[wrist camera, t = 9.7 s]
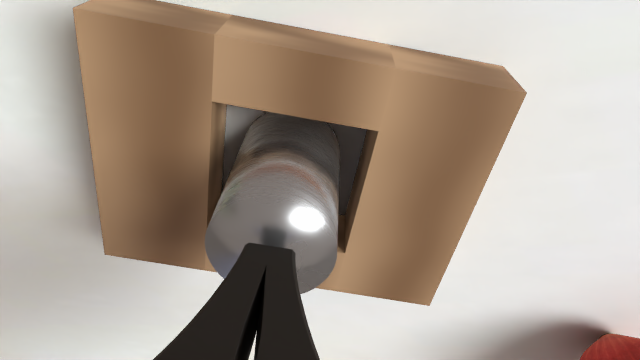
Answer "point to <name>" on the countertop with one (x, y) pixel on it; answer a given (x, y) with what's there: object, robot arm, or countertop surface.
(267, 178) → the brushed metal cylinder
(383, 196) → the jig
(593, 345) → the onion
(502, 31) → the countertop surface
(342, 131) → the countertop surface
